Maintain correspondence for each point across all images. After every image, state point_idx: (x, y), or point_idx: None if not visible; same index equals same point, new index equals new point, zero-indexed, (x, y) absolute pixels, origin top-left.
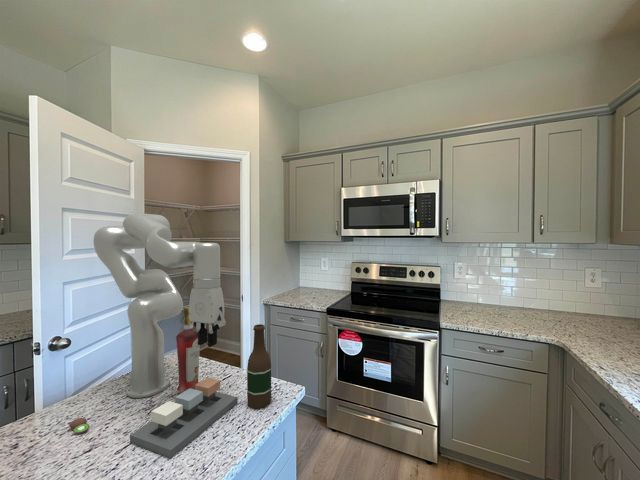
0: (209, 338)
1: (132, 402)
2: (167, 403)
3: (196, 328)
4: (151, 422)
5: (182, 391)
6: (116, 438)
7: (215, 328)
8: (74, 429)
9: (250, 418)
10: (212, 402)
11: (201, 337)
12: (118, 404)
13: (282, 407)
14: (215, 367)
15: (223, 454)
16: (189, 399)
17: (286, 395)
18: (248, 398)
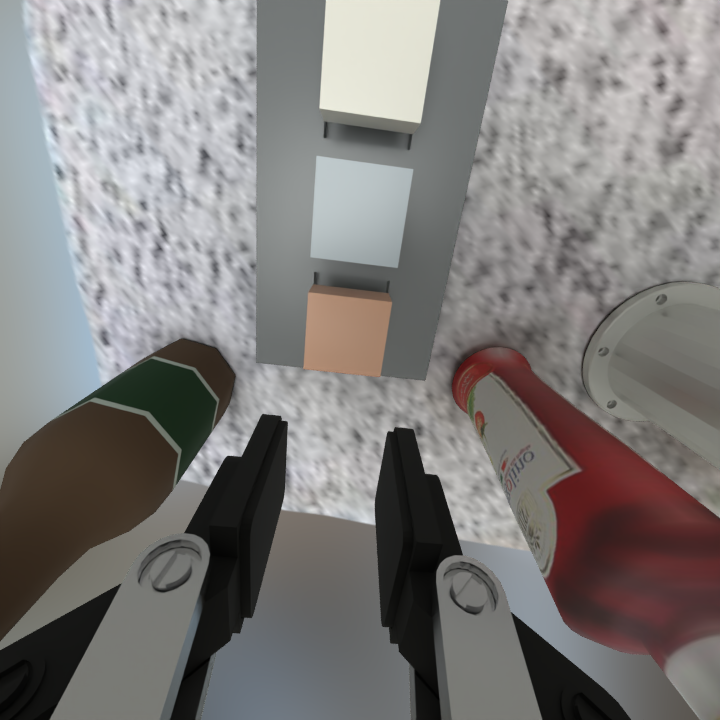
0: (234, 475)
1: (661, 259)
2: (410, 97)
3: (499, 607)
4: (474, 115)
5: (495, 349)
6: (570, 28)
7: (55, 644)
8: None
9: (161, 289)
10: None
11: (392, 497)
12: (712, 232)
13: (105, 371)
14: (482, 520)
15: (103, 74)
16: (323, 169)
17: None
18: (198, 356)
